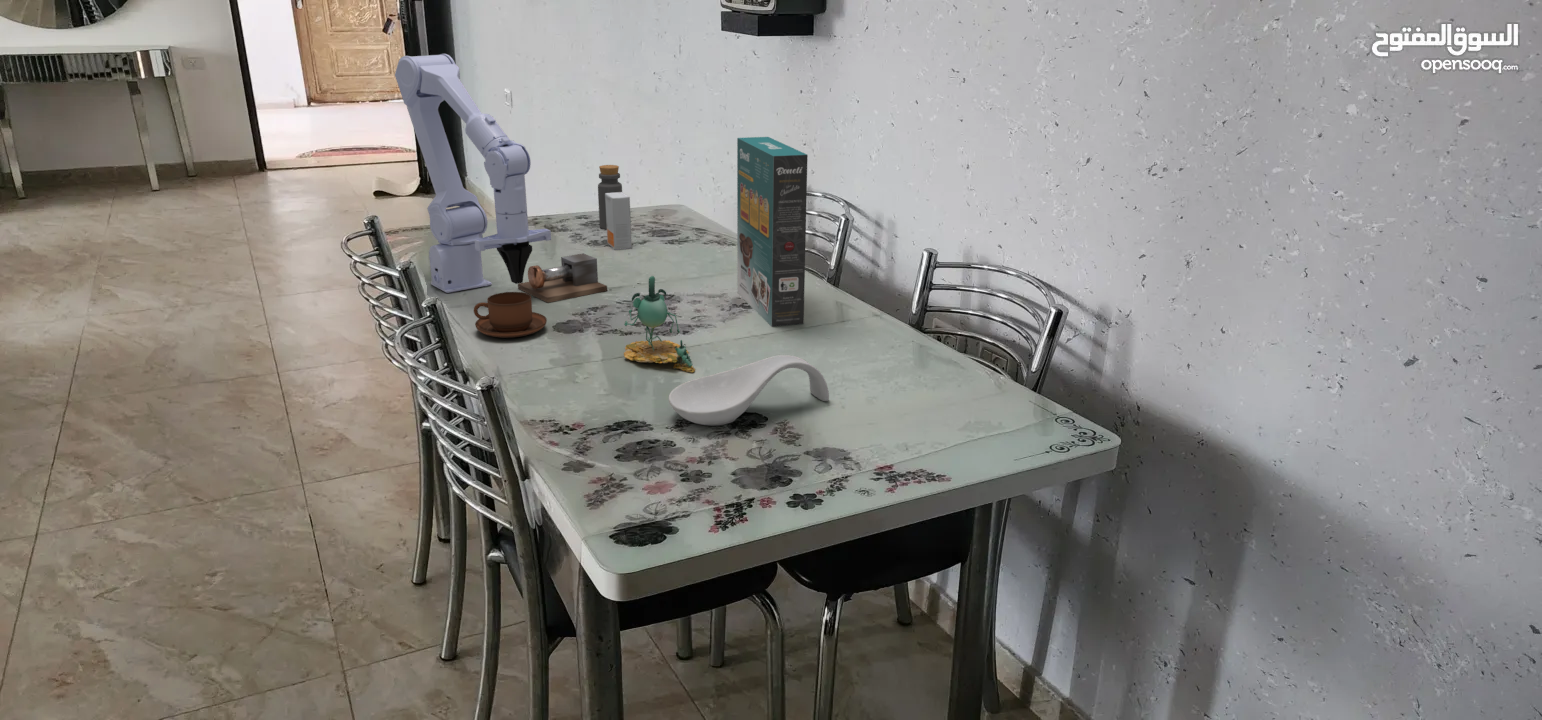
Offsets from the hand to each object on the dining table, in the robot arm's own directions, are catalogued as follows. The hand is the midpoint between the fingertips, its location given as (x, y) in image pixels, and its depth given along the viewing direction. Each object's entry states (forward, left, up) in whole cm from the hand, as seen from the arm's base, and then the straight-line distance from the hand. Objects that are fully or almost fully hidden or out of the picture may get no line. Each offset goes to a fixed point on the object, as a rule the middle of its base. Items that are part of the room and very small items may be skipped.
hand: (517, 282), depth 192 cm
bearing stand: (+10, 0, -3) cm, 10 cm away
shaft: (+8, 0, -2) cm, 8 cm away
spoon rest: (+1, -69, -4) cm, 70 cm away
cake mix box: (+34, -34, -3) cm, 48 cm away
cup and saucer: (-10, -17, -4) cm, 20 cm away
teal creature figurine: (+2, -44, -4) cm, 44 cm away
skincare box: (+37, +23, -3) cm, 44 cm away
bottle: (+46, +41, -3) cm, 62 cm away
